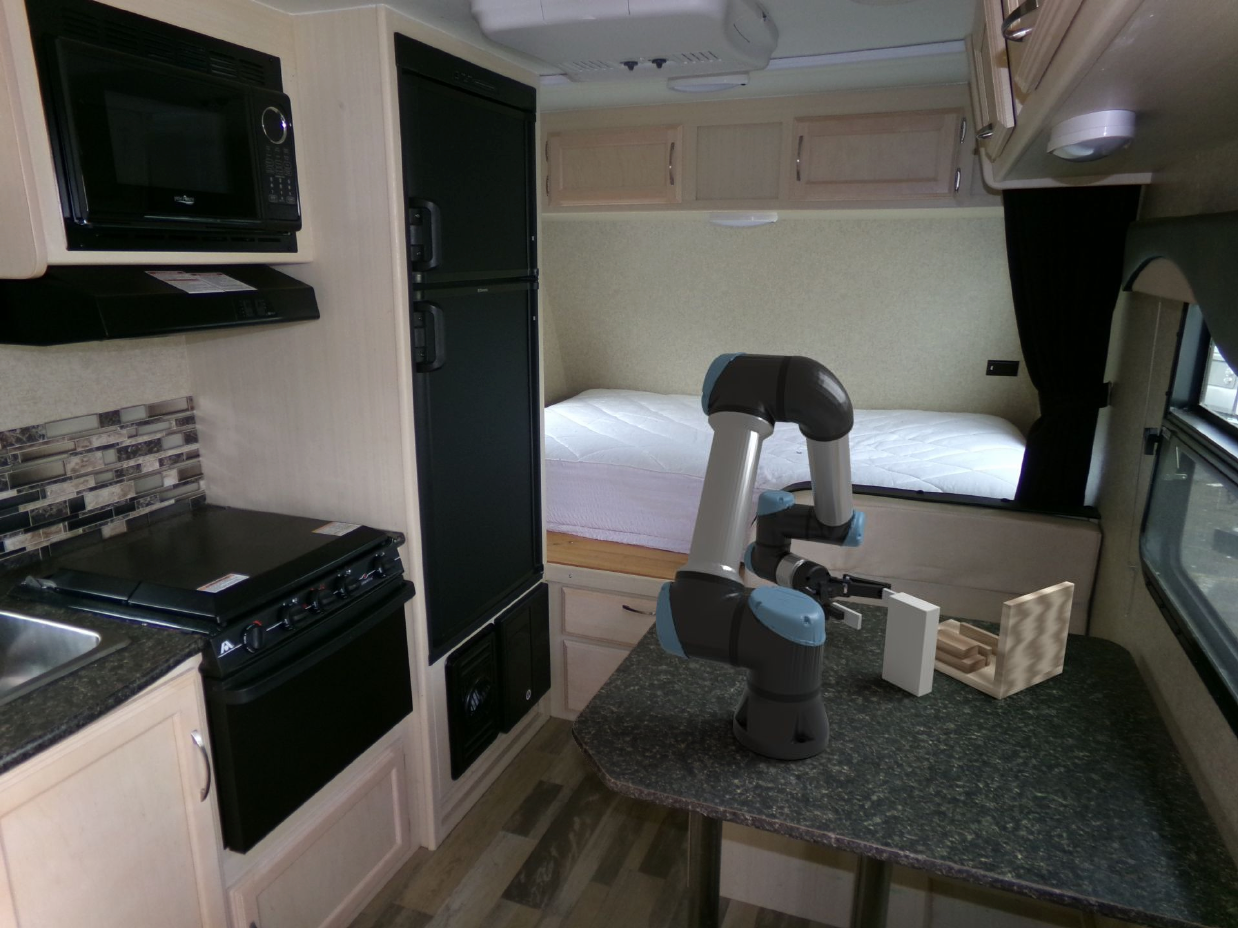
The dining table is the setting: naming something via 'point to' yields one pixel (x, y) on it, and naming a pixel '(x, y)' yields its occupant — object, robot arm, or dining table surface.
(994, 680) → the maple rack
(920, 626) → the white block
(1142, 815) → the dining table surface
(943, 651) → the walnut offcuts
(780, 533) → the robot arm
